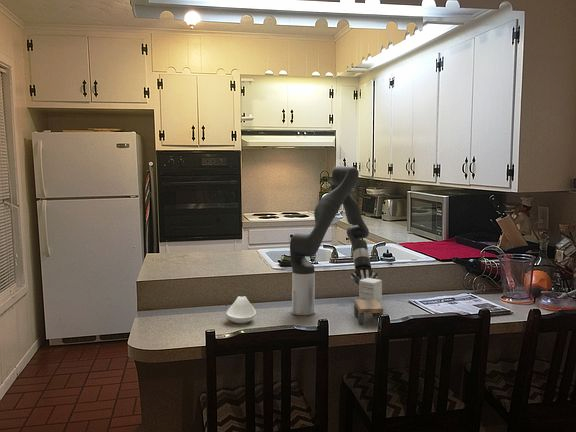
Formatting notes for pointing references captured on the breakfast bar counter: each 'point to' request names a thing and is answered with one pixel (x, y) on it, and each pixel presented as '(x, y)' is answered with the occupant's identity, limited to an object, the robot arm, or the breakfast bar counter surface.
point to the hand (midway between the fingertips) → (366, 292)
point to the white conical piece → (241, 311)
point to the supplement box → (370, 289)
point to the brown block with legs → (367, 308)
